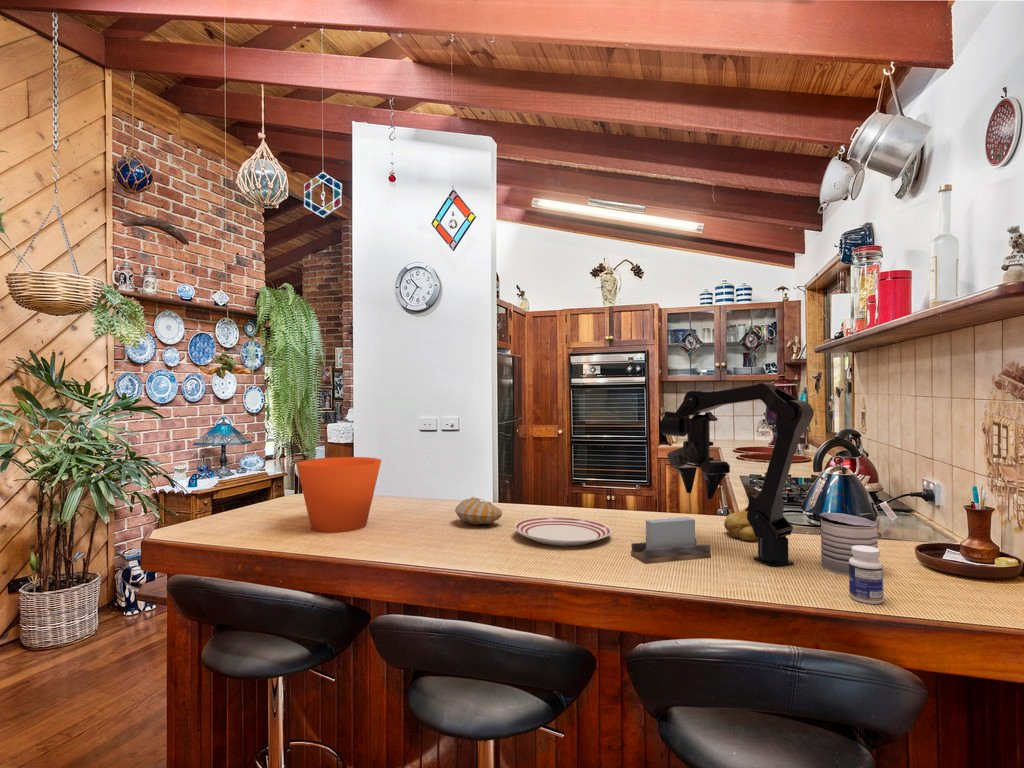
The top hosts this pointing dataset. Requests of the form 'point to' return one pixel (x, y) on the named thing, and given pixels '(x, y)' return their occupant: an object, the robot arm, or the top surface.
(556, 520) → the dinner plate
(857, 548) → the pill bottle
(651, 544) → the door panel
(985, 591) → the top surface
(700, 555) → the bottom track
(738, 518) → the tan lumpy piece
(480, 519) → the striped ribbed shell
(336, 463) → the flowerpot
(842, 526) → the can
